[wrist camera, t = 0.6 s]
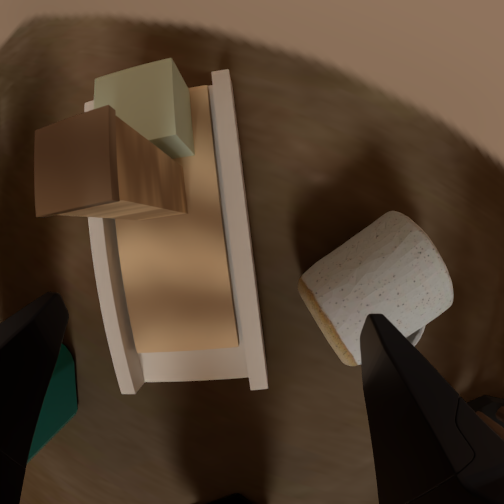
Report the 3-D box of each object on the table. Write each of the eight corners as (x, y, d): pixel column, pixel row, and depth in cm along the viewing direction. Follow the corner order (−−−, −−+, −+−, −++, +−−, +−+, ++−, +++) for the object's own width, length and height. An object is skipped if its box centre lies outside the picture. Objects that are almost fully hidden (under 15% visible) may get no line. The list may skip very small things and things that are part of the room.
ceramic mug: (284, 273, 23) (296, 296, 16) (374, 210, 23) (422, 205, 15) (355, 378, 24) (386, 430, 16) (433, 319, 23) (486, 350, 16)
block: (194, 155, 21) (176, 134, 16) (127, 168, 21) (93, 153, 16) (189, 90, 21) (171, 57, 16) (124, 105, 21) (94, 78, 16)
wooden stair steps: (239, 342, 23) (217, 451, 10) (141, 348, 23) (53, 436, 10) (209, 90, 22) (164, -22, 9) (114, 111, 22) (17, 37, 9)
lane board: (267, 371, 24) (268, 388, 21) (135, 378, 24) (121, 393, 21) (232, 86, 23) (228, 68, 20) (101, 114, 23) (84, 103, 20)
